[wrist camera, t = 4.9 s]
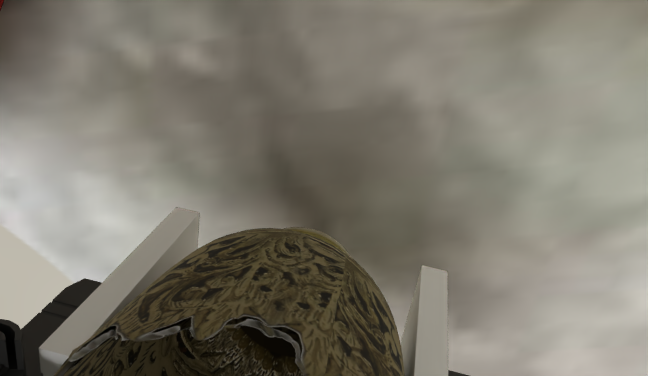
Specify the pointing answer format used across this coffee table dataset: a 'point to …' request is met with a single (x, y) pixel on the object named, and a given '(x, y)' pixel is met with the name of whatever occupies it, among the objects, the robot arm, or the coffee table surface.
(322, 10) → the coffee table surface
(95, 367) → the ornate bell
